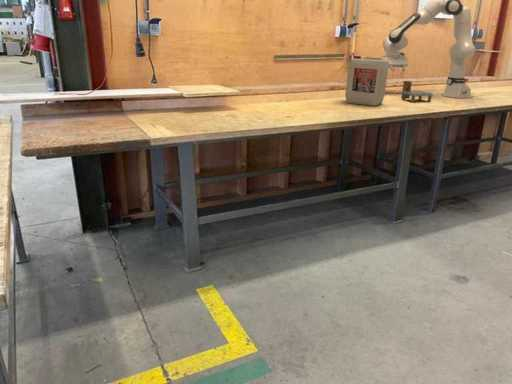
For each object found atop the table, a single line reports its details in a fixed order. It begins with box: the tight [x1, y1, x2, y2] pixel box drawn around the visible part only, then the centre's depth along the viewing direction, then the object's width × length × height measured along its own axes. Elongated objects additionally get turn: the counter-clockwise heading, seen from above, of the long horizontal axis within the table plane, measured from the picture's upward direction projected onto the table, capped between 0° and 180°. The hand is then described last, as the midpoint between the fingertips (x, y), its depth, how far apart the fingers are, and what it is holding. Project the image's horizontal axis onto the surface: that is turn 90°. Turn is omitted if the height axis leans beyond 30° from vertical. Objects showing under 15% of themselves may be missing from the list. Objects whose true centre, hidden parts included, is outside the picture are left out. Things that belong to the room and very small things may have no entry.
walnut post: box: [401, 80, 413, 99], centre depth 305 cm, size 4×4×12 cm
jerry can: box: [344, 55, 390, 107], centre depth 276 cm, size 24×19×30 cm
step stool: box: [401, 90, 434, 104], centre depth 295 cm, size 16×12×6 cm
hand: (398, 71), depth 311 cm, fingers open, 8 cm apart
